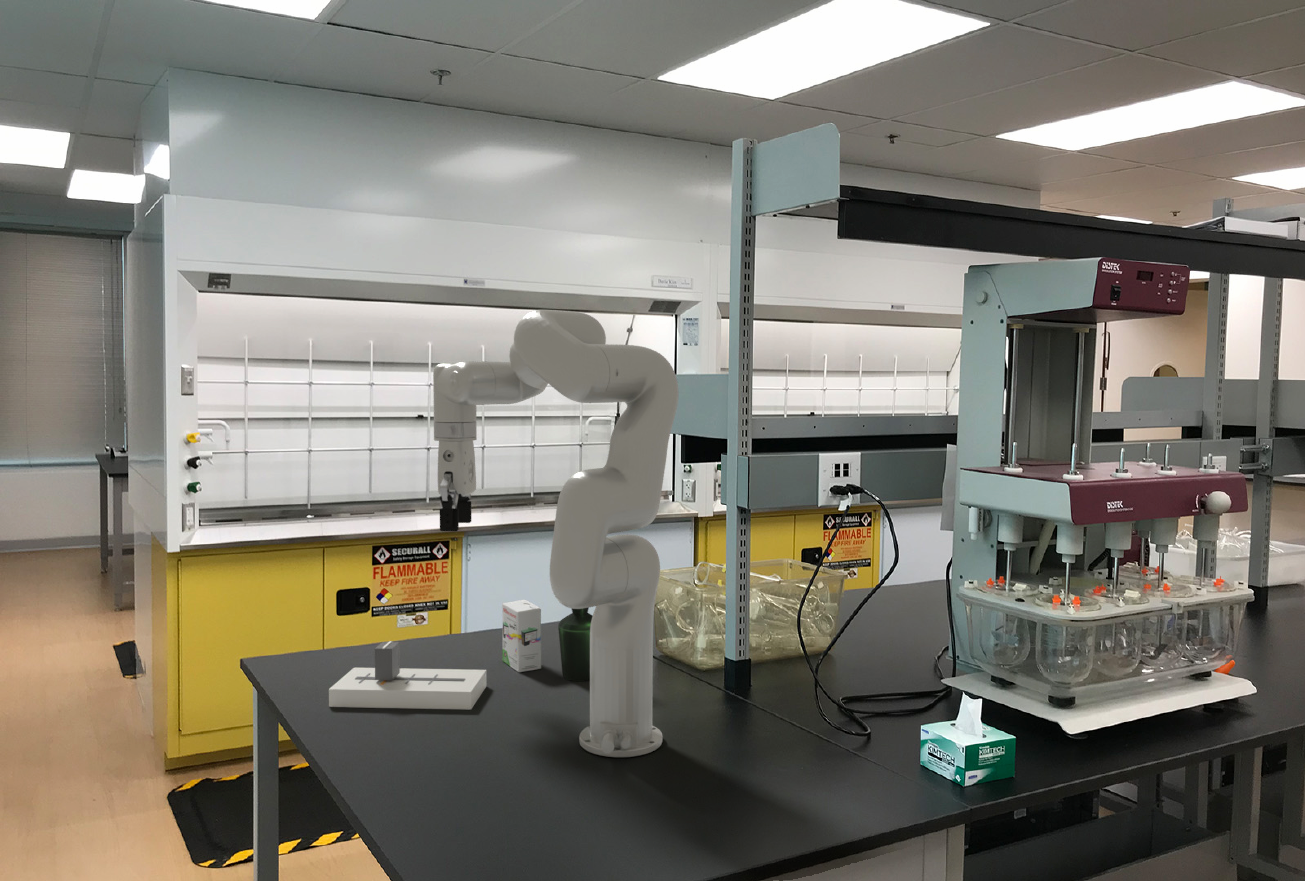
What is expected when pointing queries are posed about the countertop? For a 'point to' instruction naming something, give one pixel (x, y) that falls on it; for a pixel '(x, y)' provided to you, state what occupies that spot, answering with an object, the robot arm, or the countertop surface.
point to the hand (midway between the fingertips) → (456, 526)
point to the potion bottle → (575, 645)
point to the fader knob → (387, 661)
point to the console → (409, 689)
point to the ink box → (521, 635)
